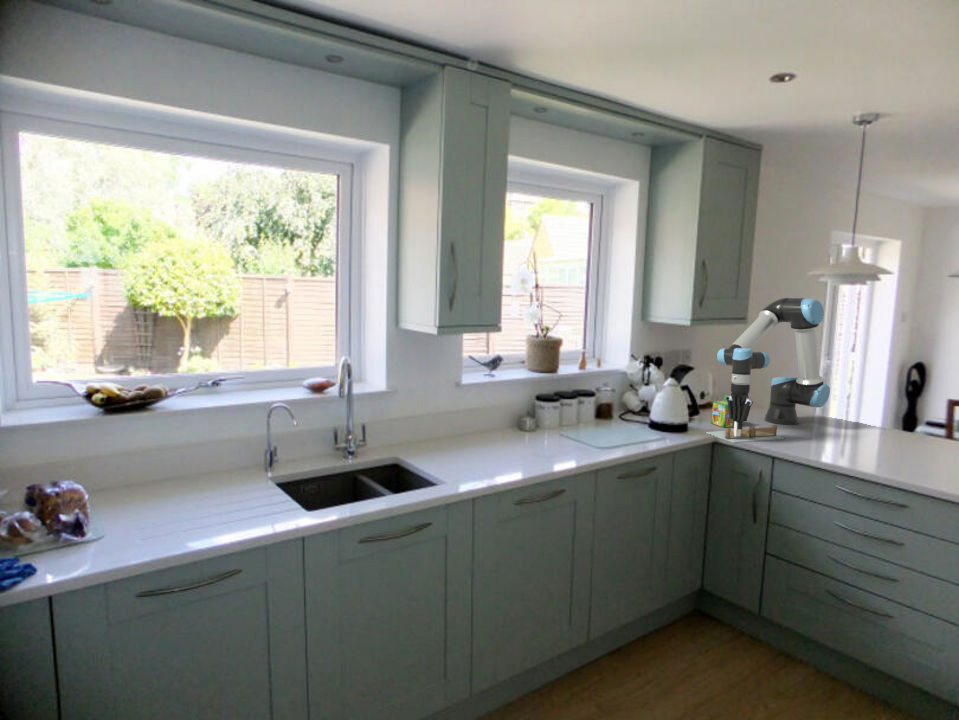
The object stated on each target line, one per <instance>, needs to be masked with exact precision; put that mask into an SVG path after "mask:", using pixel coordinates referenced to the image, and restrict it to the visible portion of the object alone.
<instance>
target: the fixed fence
mask: <svg viewBox="0 0 959 720" xmlns="http://www.w3.org/2000/svg"><path fill="white" fill-rule="evenodd" d="M748 429H750V431H749V437H751V438H754V436H755V437H757V436H771V435H773V436H776V435H777V432H778V431H777V430H778V425H776V424H775V425H774V424H772V426H766V427H765V426H764V427H762V426H761V427H755V426H748Z"/></svg>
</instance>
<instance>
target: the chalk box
mask: <svg viewBox="0 0 959 720" xmlns="http://www.w3.org/2000/svg"><path fill="white" fill-rule="evenodd" d="M729 396H730V395H727V394H725V395H724V398H723V400H713V402H712V413H711V420H710V421H711V422H710V424H712V425H714V426H718V427H721V428H723V429H726V428H733V420H732V419H730V417H729V409H728V402H727V399H726V397H729Z"/></svg>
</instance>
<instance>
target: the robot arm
mask: <svg viewBox="0 0 959 720" xmlns="http://www.w3.org/2000/svg"><path fill="white" fill-rule="evenodd" d="M824 314H825V311H824V307H823V304H822V303H821V301H819V300H818V299H815V298H809V297H796V298H795V297H782V298H779V299H776V300H774V301H773V302H770V303H769V304H768V305H766V306H765V307H764V308H763V309H762V310H761V311H760V312H759V313H758V317H757V318H756V319H755V320H754V321H753V322H752V323H751V324H750V325H749V326H748V327H747V328H746V329H745V330H744V332H742V334H740V335H739V336H738V338H737V339H736V340H735V341H734V342H733V343H732V344H731V345H730V346H729V347H728V348H727V347H724V348H720V349H719V350H718V351H717V354H716V355H717V356H716V360H717V361H718V363H719V364H721V365H724V366H732V367H731V368H732V369H731V370H732V371H731V384H730V391H731V394H730V395H728V396H729V397H726V400H727V402H728V409H729V417H730V419H732V420H733V427H732V428H733V429H734V435H733V436H736V437H737V436H741V429H743V423H744V422H747V421H748V418H749V414H750V411H751V407H752V405H753V404H754V401H752V400H750V399H749V394H750V389H751V388H750V387H751V386H750V384H751V370H757V369H758V370H761V369H765V368H767V367H768V366H769V365H770V362H771V358H770V355H769V354H768V353H767V352H766V351H765V352H764V351H753V350H752V348H753V347H754V346H755V345H756V344H757V343H758V342H759V341H760V340H761V339H762V338H763V337H764V336H765V335H766V334H767V333H768V332H769V330H770V329H771V328H774V327H776V326H777V325H778V324H780V323H790V329H791V330H793V331H794V335H795V336H794V337H795V349H796V358H797V368H798V377H797V376H777V377H773V378H772V379H771V385H770V395H769V396H770V397H769V406H768V409H767V412H766V414H765V415H764V420H765V421H766V422H769V423H772V424H778V425H789V426H792V425H797V424H799V418H798V413H797V409H796V405H801V406H805V407H810V408H821V407H824V405H826V404H827V401H829V399H830V395H831V394H830V393H831V388H830V386H829V385H828V384H826V383H824V378H823V376H821V375H820V370H819V366H820V365H819V356H818V354H819V353H818V345H817V332H816V329H817V328H818V327H819V326H820V325H819V324H820V323H822V322H823V319H824V316H825V315H824Z"/></svg>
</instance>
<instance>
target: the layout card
mask: <svg viewBox="0 0 959 720" xmlns="http://www.w3.org/2000/svg"><path fill="white" fill-rule="evenodd" d="M725 431H726V430H718V431H717V430H716V431H706V432H705V433H706V434H708V435H710V434H711V435H710V436H713V435H714V437H716V438H719V439H723V440H725V441H726V442H727V441H728V442H730V443H733V444H735V443H736V444H737V443H747V442H750V443H751V442H761V441H773V440H784V439H785V437H783V436H779V435H777V434H776V436H773V435H771V436H757V437H755V436H754V438H751V437H743V438H730V439H727V438H725Z"/></svg>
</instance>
